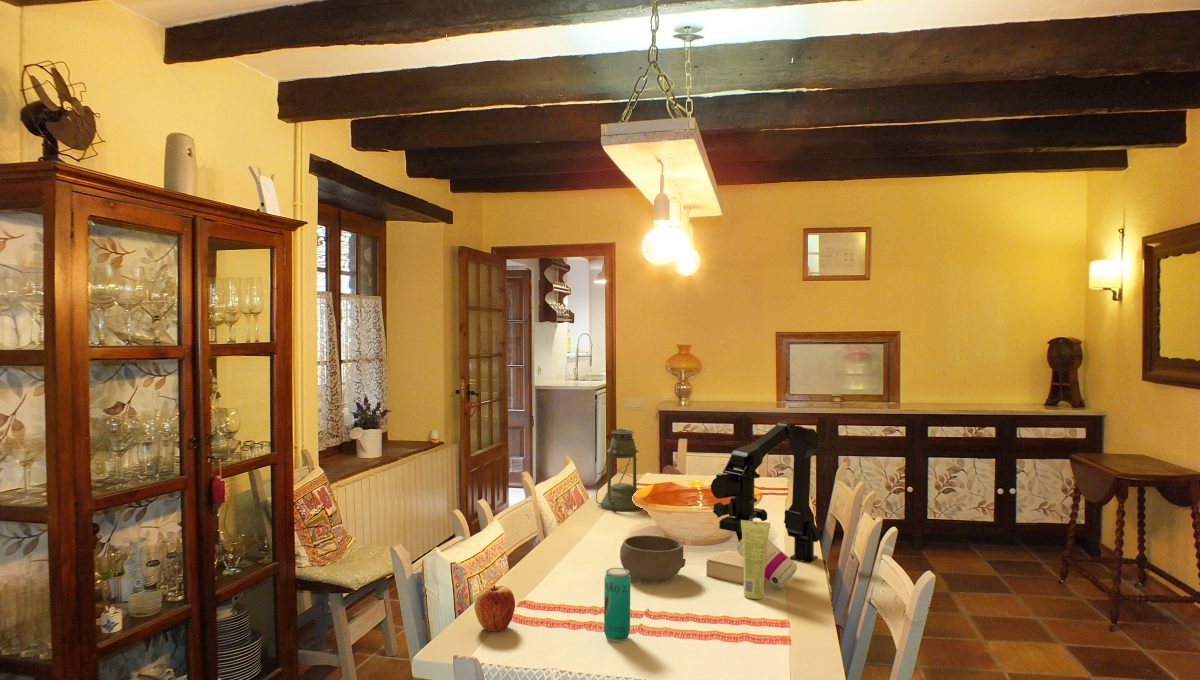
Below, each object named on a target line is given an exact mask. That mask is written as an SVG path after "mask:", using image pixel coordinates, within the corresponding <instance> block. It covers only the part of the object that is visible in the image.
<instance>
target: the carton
mask: <svg viewBox="0 0 1200 680" xmlns="http://www.w3.org/2000/svg"><path fill="white" fill-rule="evenodd" d="M705 572H706V573H705V574H706V577H711V578H714V579H719V580H723V581H728V582H732V583H736V584H740V585H744V559H739V558H735V557H730V556H725V555H720V553H719V554H716V555H714V556H711V557H710V558H708V559H707V560H706V571H705ZM764 580H767V579H766V578H765V577H764Z"/></svg>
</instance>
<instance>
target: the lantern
mask: <svg viewBox="0 0 1200 680" xmlns="http://www.w3.org/2000/svg"><path fill="white" fill-rule="evenodd" d="M610 431H611V432H610V433H611V434H612V438H611V440H610V446H609V448H608V449H607V450H606V453H608V456H607V459H606V462H605V464H604V466H603V470H602V473H601V476H600V479H599V481H598V486H597V490H596V494H595V502H596V504H598V505H599V504H600V508H601V509H603V510H606V511H610V512H621V513H623V512H626V513H627V512H628V513H629V512H636V511H640V510H642V509H641V508H640V507H638V506H636V505H635V504H634V503H633V501H632V496H633V494H634V493H635V492H636V491H638V486H637V461H638V459H637V454H638V453H639V451H638V450H637V448H636V447H637V446H636V444H635V439H634V438H633V434H635V431H633V430H630V429H624V428H614V429H610ZM613 458H614V459H628V463H627V465H624V466H622V467H621V469H622V468H625V470H624V472H623V471H621V470H620V468H618V469H617V468H616V467H614V466H613V465H612V464H613V463H612V462H613ZM631 459H632V463H630V461H631ZM631 464H632V476H631V475H629V474H627V473H626V471H627V469H628V467H629V466H630V465H631ZM606 467H607V484H606V485H607V490H606V493H605V495H604V497H603V498H602V499H601V502H599V501H598V491H599V487H600V485H601V481H602V477H603V475H604V472H605V468H606ZM612 469H615V470H614V471H613V472H612ZM617 471H618V472H620V473H622V476H621V479H620V480H619V482H618V483H614V484H612V474H614V473H615V472H617ZM625 475H626V476H629V477H630V478H632V483H631V484H630V483H626V482H625V483H624V482H622V480H623V478H624V476H625Z"/></svg>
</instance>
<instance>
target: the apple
mask: <svg viewBox="0 0 1200 680" xmlns="http://www.w3.org/2000/svg"><path fill="white" fill-rule="evenodd" d="M515 610H516V599H515V596H514V593H513V591H512V590H511V588H509V587H508V586H505V585H495V584H494V585H490V586H487V587H485V588H483V589H481V590H480V591H479V592H478V593H477V595H476V597H475V601H474V612H475V616H476V618H477V620H478V622H479V624H480V626H481V627H482V628H483V629H484V630H486V631H488V632H502V631H505V629H506V628H508V626H509V625H510V623H511V621H512V619H513V617H514V613H515Z"/></svg>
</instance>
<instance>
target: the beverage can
mask: <svg viewBox="0 0 1200 680" xmlns="http://www.w3.org/2000/svg"><path fill="white" fill-rule="evenodd" d="M605 573H606V574H605V576H604V589H603V590H604V593H603V594H604V595H603V597H604V599H603V600H604V601H603V602H604V603H603V604H604V605H603V606H604V608H603V616H604V617H603V631H604V636H605V638H606V639H607V641H608V642H611V643H623V642H626V641H627V640H628V638H629V635H630V633H631V576H630V575H629V570H627V569H624V568H623V567H611V568H607V569H606V570H605Z"/></svg>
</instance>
